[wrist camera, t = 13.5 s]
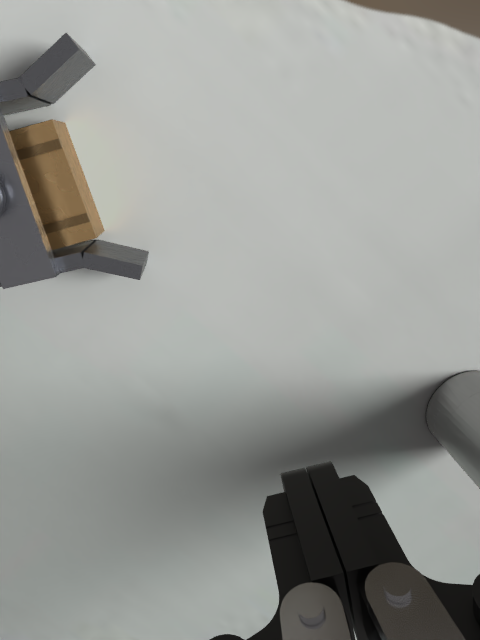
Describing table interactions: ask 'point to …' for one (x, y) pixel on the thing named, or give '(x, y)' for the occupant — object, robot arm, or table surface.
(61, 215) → the block
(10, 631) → the table surface
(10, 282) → the coupler dock
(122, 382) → the table surface
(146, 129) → the table surface
